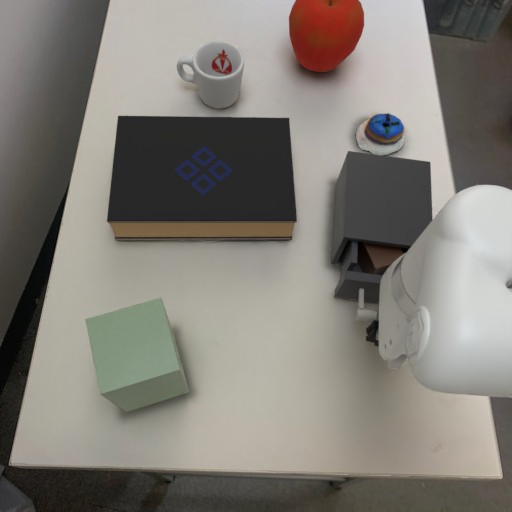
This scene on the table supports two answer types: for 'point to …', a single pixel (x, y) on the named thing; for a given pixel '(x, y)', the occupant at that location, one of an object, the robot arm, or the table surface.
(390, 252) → the block
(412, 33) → the table surface
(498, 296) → the robot arm
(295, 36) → the apple
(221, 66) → the cup
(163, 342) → the block
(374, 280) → the drawer
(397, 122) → the dessert
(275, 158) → the book
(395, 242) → the cabinet
